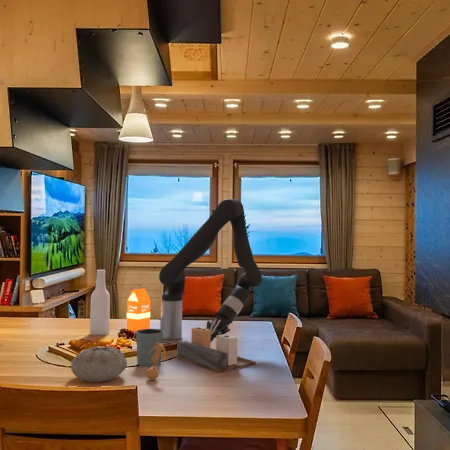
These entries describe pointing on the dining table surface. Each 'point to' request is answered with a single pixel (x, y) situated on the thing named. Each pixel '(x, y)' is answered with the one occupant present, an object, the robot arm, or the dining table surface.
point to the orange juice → (138, 310)
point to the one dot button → (227, 347)
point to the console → (208, 357)
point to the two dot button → (201, 336)
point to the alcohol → (100, 307)
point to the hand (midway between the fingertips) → (205, 343)
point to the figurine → (152, 371)
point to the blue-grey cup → (148, 346)
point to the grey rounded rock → (98, 364)
